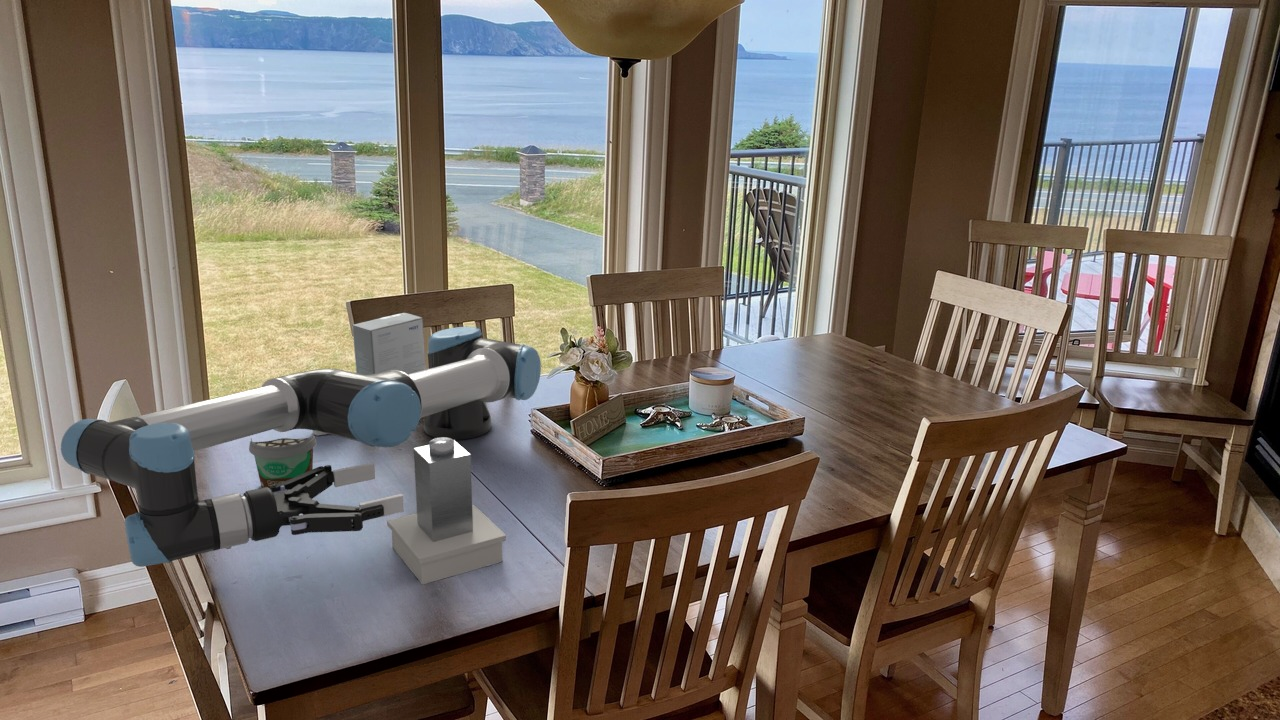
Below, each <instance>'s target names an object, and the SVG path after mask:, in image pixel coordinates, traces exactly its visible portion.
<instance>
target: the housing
mask: <svg viewBox="0 0 1280 720" xmlns="http://www.w3.org/2000/svg"><path fill="white" fill-rule="evenodd" d="M471 455H472V454H471V453H470V452H468V451H467V450H466V449H465V448H464V447H463V446H461V445H460V444H459V443H458V442H457V441H456V440H453V439H451V438H446V437H441V438H435V437H434V438H433V439H431V440H429V442H428V444H426V445H422V446H417V447H413V457H414V458H413V461H414V477H415V478H414V480H415V497H416V498H415V499H416V500H415V502H416V513H417V521H418V525H419V527H420V528H421V529H422V530H423V531H424V532H425V533H426V535H427V536H428V537H429V538H430V539H431V540H432V541H433V542H435V541H439V540H443V539H447V538H450V537H454V536H458V535H462V534H466V533H469V532H473V514H472V503H473V492H472V491H473V489H472V487H473V486H472V457H471Z"/></svg>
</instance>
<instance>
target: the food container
mask: <svg viewBox="0 0 1280 720" xmlns="http://www.w3.org/2000/svg"><path fill="white" fill-rule="evenodd" d="M317 443H318V442H317V438H316V435H314V434H313V433H312V434H311V436H309V437H305V438H288V437H287V438H286V437H285V438H284V437H283V438H277V439H272V440H266V441H253V438H252V437H251V438H250V441H249V446H248V451H249V453H250V454H252V455H253V456H254V460H255V465H256V469H257V473H258V478H259V482H260V487H261V488H264V487H268V488H270V486H271V485H274V484H278V483H282V482H285V481H287V480H289V479H292V478H294V477H296V476H299V475H301V474H303V473H306V472H308V471H310V470H312V469H314V468H313V466H314V465H313V464H314V463H313V462H314V448H315V447H316V445H317Z"/></svg>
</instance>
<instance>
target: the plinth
mask: <svg viewBox="0 0 1280 720" xmlns="http://www.w3.org/2000/svg"><path fill="white" fill-rule="evenodd" d="M472 514H473V532H469V533H466V534H462V535H458V536H454V537H450V538H447V539H443V540H439V541H435V542H433V541H432V540H431V539H430V538H429V537H428V536H427V535H426V533H425V532H424V531H423V530H422V529H421V528H420V527H419V525H418V521H417V512H416V513H410V514H407V515H403V516H399V517H396V518H391V519H387V520H386V522H387V524H386V525H387V527H388V528H389V529H390V531H391V543H392V549H394V551H395V552H396V554H397V555H398V556H399V557H400V558H401V560H402V561H403V562H404V564H406V566H407V567H408V569H410V571H411V572H412V574H413V575H414V576H415V577H416V579H417V580H418V581H419V582H420V584H421V585H427V584H429V583H433V582H436V581H440V580H444V579H446V578H450V577H452V576H453V577H454V576H457V575H460V574H463V573H467V572H471V571H475V570H478V569H480V568H485V567H487V566H491V565H495V564H498V563H501V562H503V542H506V541H507V535H506V534H505V533H504V532H503V531H502V530H501V529H500V528H499V527H498V526H497V525H496V524H495V523H494V522H493V521H492V520H491V519H489V517H487V516H486V514H484V512H482V511H481V510H480V509H479V508H478V507H477V506H476V504H474V503H473V502H472Z"/></svg>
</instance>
